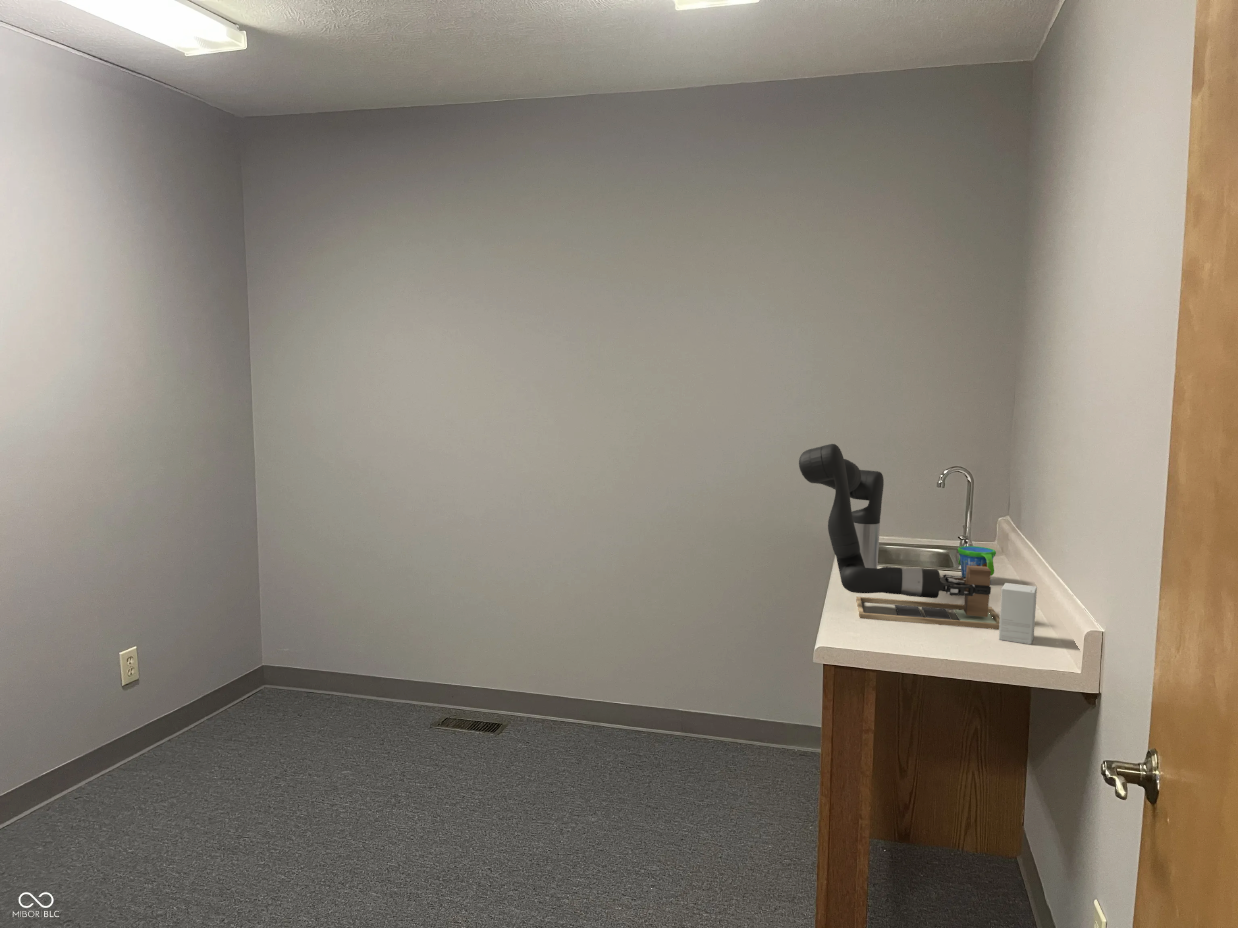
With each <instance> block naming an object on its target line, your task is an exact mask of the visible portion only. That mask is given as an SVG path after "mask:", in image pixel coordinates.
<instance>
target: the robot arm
mask: <svg viewBox="0 0 1238 928" xmlns="http://www.w3.org/2000/svg"><path fill="white" fill-rule="evenodd" d="M798 466H799V468H798V469H799V471H800V473H801V475H802V477H803V478H804V479H805V480H806V481H807V482H809V483H811V484H818V485H823V486H826V487H828V488H831V489H832V490H835V496H834V499H833V505H832V507H831V510H830V513H829V516H828V521H827V531H828V536H829V539H830V542H831V543H830V544H831V546H832V550H833V553H834V555H835V557H836V563H837V567H838V571H839V572H838V573H839V577H840V582H841V585H842V587H843V588H844V589H845V590H846V591H848V592H849V593H855V594H880V593H883V594H889V595H890V594H891V595H901V596H906V597H913V598H927V599H928V598H929V599H937V598H939V595H940V592H944V593H945V594H948V595H949V596H952V597H953V596H956V597H957V596H958V597H959V596H960V597H965V596H973V595H974V594H985V595H989V596H990V595H991V592H992V591H991V590H992V588H991V585H990V586H985V585H974V584H968V583H966V577H962V576H959V575H951V574H950V575H949V574H946V573H945V574H943V575H942V577H941V575H940V571H939V569H937V568H936V569H935V568H922V567H895V566H883V567H880V568H879V567H878V566H879V565H878V563H879V550H880V549H879V546H880V545H879V543H880V527H881V514H882V503H883V494H884V485H885V483H884V475H883V473H882V472H881V471H878V470H867V469H860V467H859V466H857V465H856V463H854V462H852V461H850V460H849V459H846V458H844V455H843V452H842V450H841V449H840V446H839V445H837V444H835V443H829V444H825V445H821V446H817V447H814V448H809V449H806V450H805V451H803V452H801V454H800V456H799V459H798ZM851 499H853V500H859V501H868V504H867V505H866V506H865V507H863V508H860V509H856V510H852V504H851V503H852V502H851ZM965 588H969V589H968V591H966V590H965Z"/></svg>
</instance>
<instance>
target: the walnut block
mask: <svg viewBox="0 0 1238 928" xmlns="http://www.w3.org/2000/svg"><path fill="white" fill-rule="evenodd" d="M991 577H992V576H991V570H990V569H989V568H988V567H983V566H969V565H967V569H966V583H968V584H974V585H985V586H990V587H991ZM968 589H969V588H965V590H966V591H968ZM963 599H964V600H963V605H964V612H965V613H966V615H971V616H982V617H988V607H989V601H990V595H985V594H974V595H973V596H963Z"/></svg>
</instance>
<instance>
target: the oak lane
mask: <svg viewBox="0 0 1238 928" xmlns="http://www.w3.org/2000/svg"><path fill="white" fill-rule="evenodd" d="M855 598H856V599H855V600H856V607H858V608H857V612H859V613H858V616H859V617H860V618H859V619H865V618H866V620H867V619H868V620H878V621H879V620H880V621H892V622H902V623H905V622H906V623H916V624H917V623H918V624H927V625H940V626H941V625H942V626H950V627H951V626H953V627H954V626H955V627H967V628H977V629H988V628H991V630H992V628H993V630H999V623H1000V615H999V614H998V613H997V612H996V610H995V609H994V608H993V606H988V612H989V613H990V615H991V616H992V617H993V619H994V620H995V622H996V623H985V622H973V621H960V619H959V620H957V619H952V620H948V619H935V618H926V617H923V618H922V617H910V616H898V614H897V615H894V614H886V613H885V614H883V613H871V612H870V613H868V612H864V608H863V604H862V603H870V604H871V603H872V604H883V605H893V606H895V605H902V606H915V607H919V608H922V607H928V608H941V609H946V610H948V609H949V610H959V609H963V610H964V604H961V603H960V604H958V603H948V602H947V603H946V602H936V601H934V602H933V601H919V600H909V599H908V600H907V599H906V600H905V599H896V598H895V599H893V598H881V597H870V596H869V597H867V596H855Z"/></svg>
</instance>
